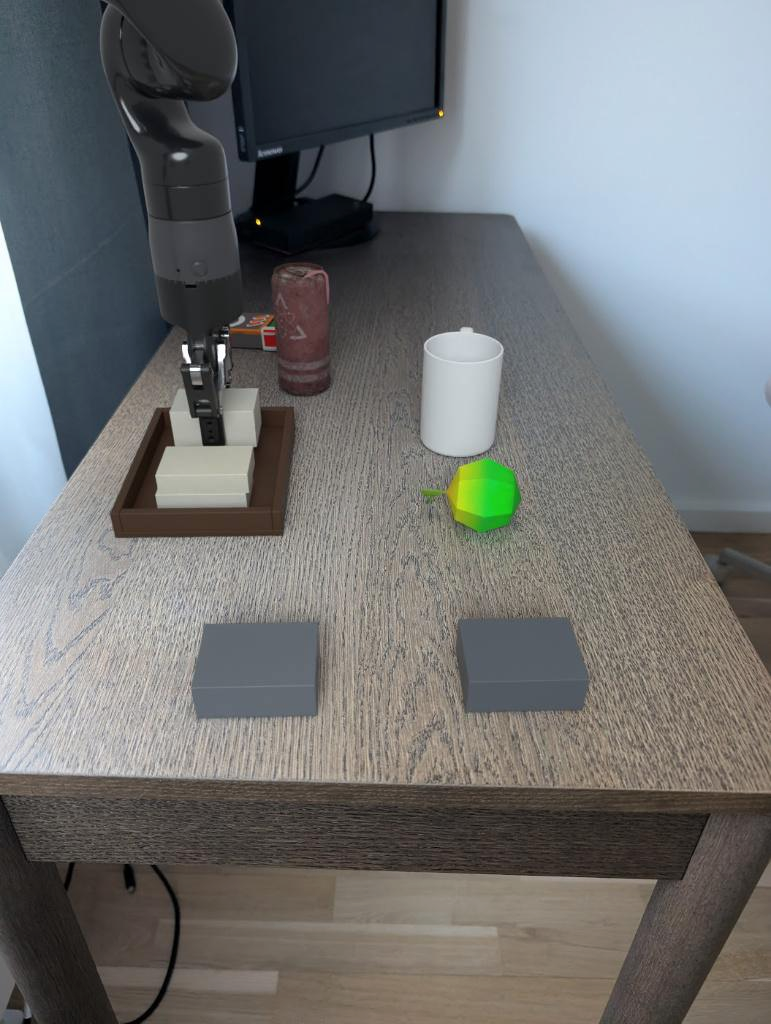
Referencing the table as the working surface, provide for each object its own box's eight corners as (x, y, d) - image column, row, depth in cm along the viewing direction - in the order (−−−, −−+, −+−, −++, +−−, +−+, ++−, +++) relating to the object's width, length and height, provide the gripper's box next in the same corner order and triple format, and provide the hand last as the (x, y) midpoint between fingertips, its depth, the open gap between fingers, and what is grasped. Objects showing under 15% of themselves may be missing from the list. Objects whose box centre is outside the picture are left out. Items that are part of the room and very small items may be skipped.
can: (331, 397, 90) (327, 278, 82) (276, 397, 90) (267, 277, 82) (333, 375, 95) (330, 260, 87) (281, 374, 95) (273, 260, 87)
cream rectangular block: (175, 448, 76) (169, 411, 74) (184, 423, 80) (178, 388, 78) (256, 447, 76) (253, 411, 74) (261, 423, 80) (258, 388, 78)
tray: (115, 538, 68) (109, 513, 66) (159, 428, 84) (156, 407, 82) (282, 535, 68) (280, 511, 67) (295, 427, 84) (294, 406, 83)
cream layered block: (158, 513, 70) (151, 476, 67) (169, 482, 74) (162, 446, 71) (251, 512, 70) (247, 474, 68) (256, 481, 74) (253, 445, 72)
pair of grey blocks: (196, 718, 51) (190, 688, 50) (209, 653, 56) (204, 623, 55) (582, 710, 52) (590, 679, 51) (562, 646, 57) (568, 616, 56)
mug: (493, 461, 79) (503, 365, 73) (416, 455, 80) (419, 360, 74) (495, 406, 89) (505, 318, 83) (427, 401, 89) (431, 314, 83)
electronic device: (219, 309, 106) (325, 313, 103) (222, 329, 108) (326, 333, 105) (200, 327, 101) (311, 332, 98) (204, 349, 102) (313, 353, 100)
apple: (528, 451, 66) (423, 445, 66) (526, 524, 64) (418, 517, 65) (517, 475, 73) (421, 470, 73) (515, 541, 71) (417, 535, 72)
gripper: (169, 240, 74) (193, 400, 84) (135, 291, 62) (167, 470, 72) (248, 240, 74) (262, 399, 84) (229, 291, 63) (248, 469, 72)
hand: (218, 431), depth 78 cm, fingers closed on cream rectangular block, 5 cm apart
